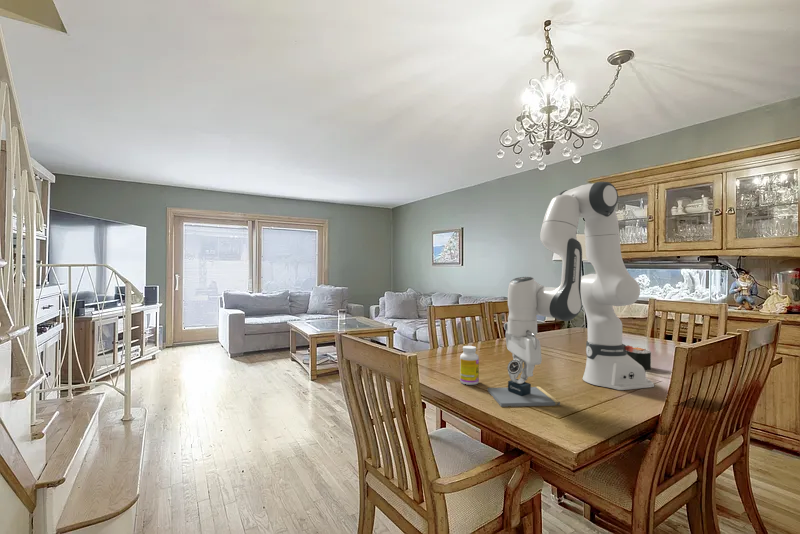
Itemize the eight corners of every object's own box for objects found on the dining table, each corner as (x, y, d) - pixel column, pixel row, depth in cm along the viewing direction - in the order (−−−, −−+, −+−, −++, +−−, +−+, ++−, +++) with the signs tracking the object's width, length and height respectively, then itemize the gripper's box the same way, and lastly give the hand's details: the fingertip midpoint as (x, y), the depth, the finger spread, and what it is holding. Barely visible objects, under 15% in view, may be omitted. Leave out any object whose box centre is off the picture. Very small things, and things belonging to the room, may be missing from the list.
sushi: (622, 366, 155) (622, 347, 155) (635, 364, 159) (635, 345, 159) (641, 371, 148) (642, 351, 148) (654, 369, 152) (655, 349, 151)
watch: (503, 391, 121) (504, 358, 121) (519, 387, 126) (521, 354, 125) (517, 397, 116) (519, 362, 116) (534, 392, 121) (535, 358, 120)
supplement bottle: (478, 386, 130) (478, 349, 130) (459, 385, 132) (459, 348, 132) (478, 380, 137) (478, 345, 137) (460, 379, 138) (460, 344, 138)
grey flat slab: (539, 389, 127) (539, 386, 127) (559, 405, 113) (559, 401, 113) (487, 390, 126) (487, 387, 126) (501, 406, 112) (501, 403, 112)
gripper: (546, 334, 109) (547, 381, 109) (520, 322, 129) (520, 362, 129) (525, 334, 108) (526, 382, 109) (502, 323, 129) (502, 363, 129)
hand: (523, 371), depth 119 cm, fingers open, 8 cm apart
